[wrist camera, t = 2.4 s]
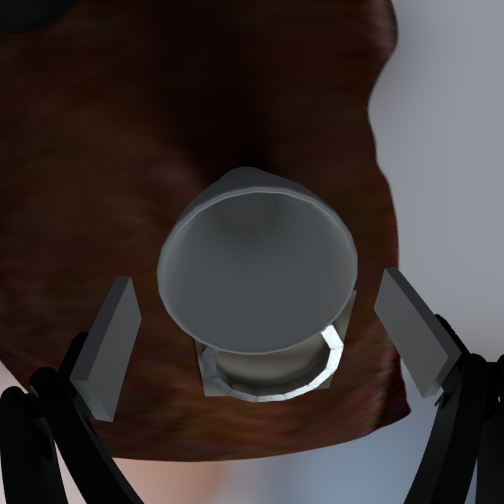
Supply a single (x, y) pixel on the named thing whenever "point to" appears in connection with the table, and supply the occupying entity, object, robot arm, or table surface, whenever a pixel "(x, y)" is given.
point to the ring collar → (280, 390)
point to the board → (276, 360)
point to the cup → (256, 264)
